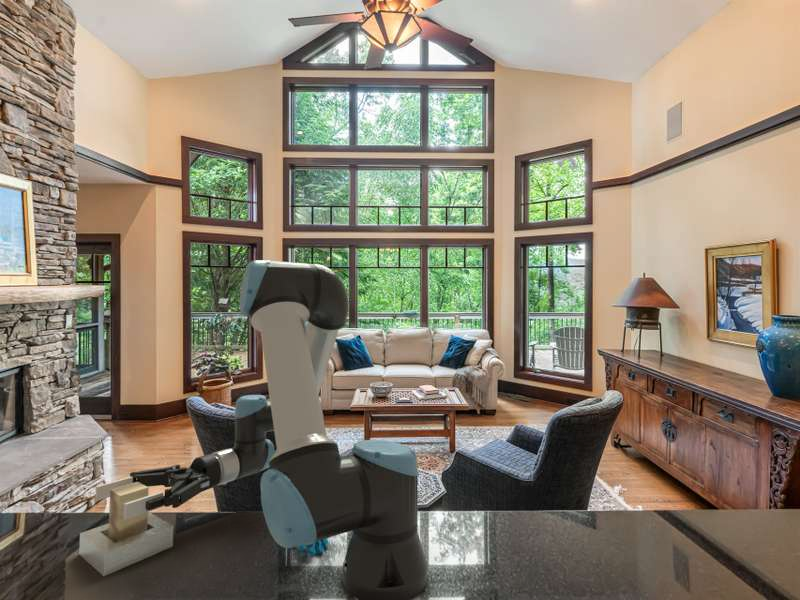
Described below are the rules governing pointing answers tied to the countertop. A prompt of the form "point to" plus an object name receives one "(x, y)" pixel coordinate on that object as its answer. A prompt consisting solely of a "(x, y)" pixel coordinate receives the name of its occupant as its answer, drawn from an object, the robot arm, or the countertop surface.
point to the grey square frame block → (124, 545)
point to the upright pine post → (117, 523)
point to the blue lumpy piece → (312, 547)
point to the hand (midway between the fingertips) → (109, 502)
